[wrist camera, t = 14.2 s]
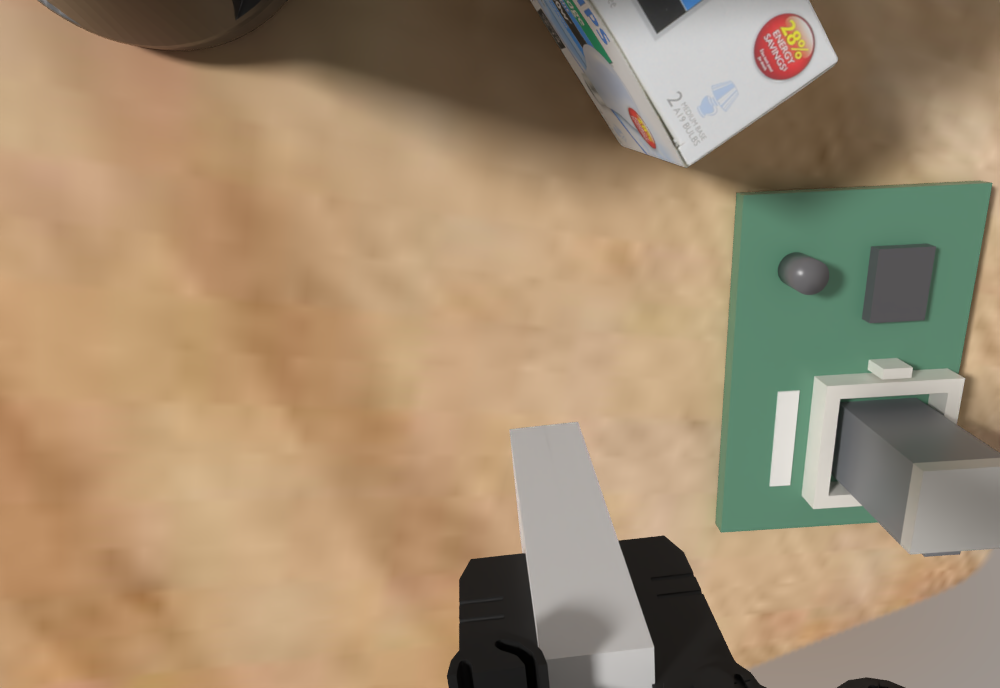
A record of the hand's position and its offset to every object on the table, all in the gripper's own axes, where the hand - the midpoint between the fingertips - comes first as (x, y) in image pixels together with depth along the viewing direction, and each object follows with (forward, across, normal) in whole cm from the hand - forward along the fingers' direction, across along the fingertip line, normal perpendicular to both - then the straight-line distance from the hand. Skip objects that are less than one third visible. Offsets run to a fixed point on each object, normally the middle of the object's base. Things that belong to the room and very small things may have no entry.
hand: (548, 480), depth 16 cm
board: (+23, +19, -9) cm, 31 cm away
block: (+22, +20, -13) cm, 33 cm away
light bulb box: (+24, +7, +10) cm, 27 cm away
